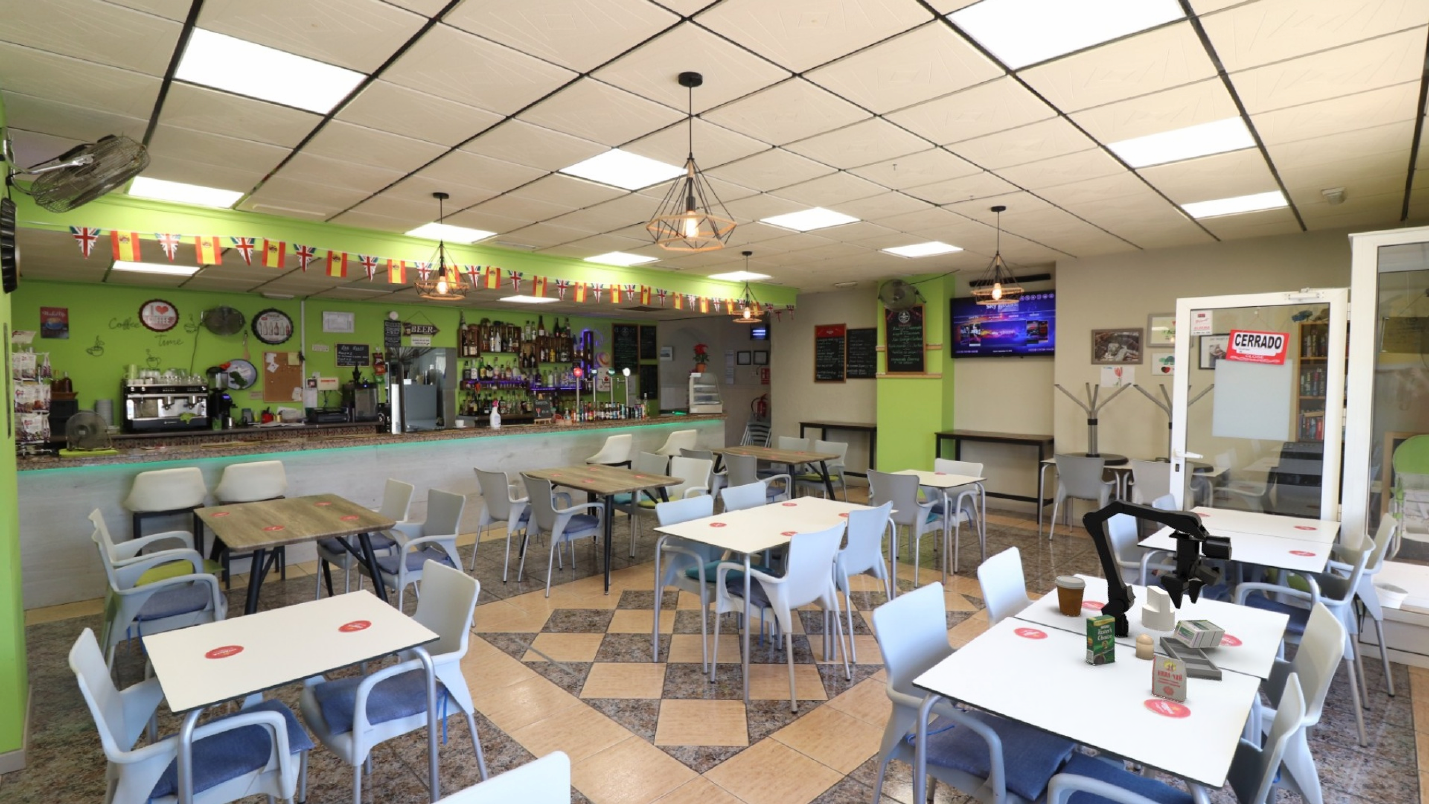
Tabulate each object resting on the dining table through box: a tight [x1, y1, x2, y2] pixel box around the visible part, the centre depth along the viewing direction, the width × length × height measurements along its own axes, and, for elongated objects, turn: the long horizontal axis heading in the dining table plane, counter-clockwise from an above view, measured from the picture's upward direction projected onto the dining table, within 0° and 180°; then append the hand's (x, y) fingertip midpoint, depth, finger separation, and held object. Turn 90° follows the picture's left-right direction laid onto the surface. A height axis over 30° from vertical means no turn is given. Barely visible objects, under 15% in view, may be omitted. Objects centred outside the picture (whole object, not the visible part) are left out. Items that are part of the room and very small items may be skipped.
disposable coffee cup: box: [1054, 575, 1087, 617], centre depth 233 cm, size 10×10×12 cm
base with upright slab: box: [1141, 585, 1176, 632], centre depth 221 cm, size 9×9×12 cm
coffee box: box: [1085, 614, 1116, 665], centre depth 193 cm, size 8×3×13 cm, turn 107°
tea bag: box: [1151, 653, 1188, 703], centre depth 172 cm, size 4×7×10 cm, turn 45°
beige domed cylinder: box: [1135, 633, 1155, 661], centre depth 197 cm, size 4×4×7 cm
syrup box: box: [1171, 619, 1226, 649], centre depth 200 cm, size 6×6×14 cm
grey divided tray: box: [1159, 635, 1223, 681], centre depth 193 cm, size 8×23×2 cm, turn 161°
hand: (1185, 606), depth 202 cm, fingers open, 9 cm apart
